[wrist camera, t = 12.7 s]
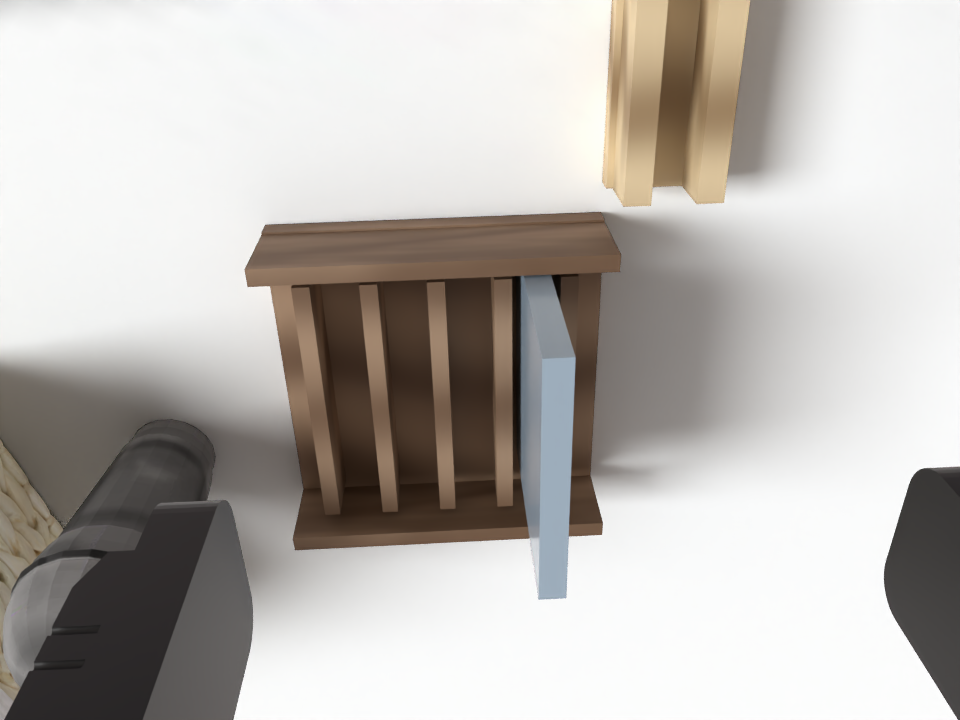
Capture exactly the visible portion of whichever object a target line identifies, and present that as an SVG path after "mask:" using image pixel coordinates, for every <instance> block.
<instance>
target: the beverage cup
mask: <svg viewBox="0 0 960 720" xmlns="http://www.w3.org/2000/svg"><path fill="white" fill-rule="evenodd" d="M214 461H215V453H214V449H213V446H212V444H211V443H210V441H209V440H208V438H207V437H206V436H205V435H204V434H203V433H202V432H201V431H199V430H198V429H197V428H195V427H193V426H191V425H189V424H187V423H185V422H180V421H175V420H157V421H154V422H152V423H149V424H146V425H145V426H143V427H142V428H141V429H139V430H138V431H137V432H136V434H135V436H134V437H133V438H132V439H131V441H130V442H129V443H128V444H127V445H126V446H124V448H123V449H122V450H121V452H120V453H119V455H118V456H117V457H116V459H115V460H114V461H113V463H112V464H111V465H110V467H109V468H108V470H107V471H106V472H105V474H104V475H103V476H102V478H101V479H100V480H99V482H98V483H97V485H96V486H95V487H94V489H93V490H92V491H91V493H90V494H89V495H88V497H87V498H86V500H85V501H84V502H83V504H82V505H81V506H80V508H79V509H78V511H77V512H76V513H75V515H74V516H73V517H72V519H71V520H70V521H69V523H68V524H67V526H66V527H65V528H64V530H63V531H62V532H61V534H60V535H59V536H58V538H57V539H56V540H54V541H53V542H52V543H50V544H49V545H48V546H47V547H46V548H45V549H44V550H43V551H42V552H41V553H40V555H39V556H38V557H37V558H36V559H35V560H34V561H33V563H32V564H31V565H30V566H28V567H27V568H26V569H24V570H23V571H22V572H21V573H20V575H19V577H18V579H17V581H16V582H15V584H14V586H13V588H12V591H11V596H10V602H9V604H8V606H7V608H6V612H5V616H4V621H3V653H4V659H5V661H6V663H7V666H8V668H9V670H10V672H11V674H12V677H13V679H14V681H15V682H16V683H17V684H18V686H19V687H20V688H21V686H22V684H23V682H24V680H25V678H26V676H27V674H28V672H29V671H33V669H34V661H35V659H36V657H37V655H38V653H39V651H40V649H41V647H42V645H43V643H44V641H45V639H46V637H47V636H51V634H52V626H53V624H54V622H55V620H56V618H57V616H58V614H59V612H60V610H61V608H62V606H63V604H64V602H65V601H66V599H67V597H68V595H69V593H70V591H71V589H72V587H73V586H74V585H75V584H76V583H77V582H78V581H79V580H80V579H81V578H82V577H83V576H84V575H85V574H86V573H87V572H88V571H89V570H90V569H92V568H93V567H94V566H95V565H96V564H97V563H98V562H99V561H100V560H101V559H102V558H103V557H104V556H105V555H106V554H107V553H108V552H109V551H128V550H135V548H136V546H137V544H138V542H139V539H140V537H141V535H142V533H143V530H144V528H145V526H146V524H147V522H148V519H149V517H150V515H151V513H152V511H153V509H154V508H155V507H156V506H157V505H158V504H160V503H173V502H194V501H207V498H208V494H209V490H210V486H211V480H212V469H213V467H214Z"/></svg>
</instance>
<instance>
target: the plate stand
mask: <svg viewBox="0 0 960 720" xmlns="http://www.w3.org/2000/svg"><path fill="white" fill-rule="evenodd" d="M749 6H750V0H612V11H611V30H610V49H609V67H608V86H607V105H606V124H605V142H604V161H603V180H602V182H603V184H604V185H605V187H606V189H607V188H613V190H614V191H615V193H616V195H617V196H618V198H619V200H620V202H621V203H622V205H623V207H628V206H651V199H652V187H661V186H682V187H683V188H684V189H685V190H686V192H687V193H688V194H689V195H690V197H691V198H692V199H693V200H694V201H695V203H696V204H707V203H724V197H725V190H726V182H727V174H728V167H729V159H730V151H731V144H732V136H733V128H734V121H735V113H736V105H737V98H738V90H739V83H740V75H741V67H742V60H743V52H744V44H745V37H746V29H747V21H748V14H749Z"/></svg>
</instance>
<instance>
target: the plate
mask: <svg viewBox="0 0 960 720" xmlns="http://www.w3.org/2000/svg"><path fill="white" fill-rule="evenodd" d="M575 360H576V357H575V354H574V350H573V347H572V344H571V340H570V337H569V334H568V330H567V327H566V324H565V320H564V317H563V313H562V310H561V307H560V303H559V300H558V297H557V293H556V290H555V287H554V283H553V280H552V277H551V275H528V276H516V427H517V455H518V462H519V469H520V476H521V483H522V489H523V496H524V503H525V510H526V517H527V524H528V531H529V538H530V544H531V551H532V558H533V565H534V572H535V579H536V586H537V593H538V599H539V600H540V599H558V598H566V591H567V565H568V539H569V514H570V488H571V462H572V437H573V411H574V385H575Z"/></svg>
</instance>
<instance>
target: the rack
mask: <svg viewBox="0 0 960 720" xmlns="http://www.w3.org/2000/svg"><path fill="white" fill-rule="evenodd" d="M620 263H621V254H620V252H619V250H618V248H617V246H616V244H615V242H614V240H613V238H612V236H611V234H610V232H609V230H608V228H607V226H606V224H605V222H604V218H603V216H602V214H601V212H592V213H566V214H540V215H514V216H488V217H461V218H435V219H409V220H383V221H357V222H331V223H305V224H278V225H265V227H264V229H263V231H262V235H261V237H260V239H259V241H258V243H257V245H256V247H255V250H254V252H253V254H252V256H251V258H250V260H249V262H248V264H247V266H246V268H245V275H246V280H247V286H248V287H257V286H270V288H271V294H272V300H273V306H274V312H275V318H276V324H277V330H278V336H279V342H280V348H281V355H282V361H283V367H284V373H285V379H286V385H287V391H288V397H289V403H290V409H291V415H292V421H293V427H294V433H295V440H296V446H297V452H298V458H299V464H300V470H301V476H302V482H303V488H304V490H303V494H302V499H301V504H300V508H299V513H298V517H297V522H296V527H295V531H294V536H293V541H294V547H295V550H308V549H328V548H348V547H368V546H388V545H408V544H428V543H448V542H468V541H488V540H508V539H528V538H529V531H528V524H527V517H526V510H525V503H524V496H523V489H522V483H521V476H520V469H519V462H518V455H517V427H516V276H528V275H551V277H552V280H553V283H554V287H555V290H556V293H557V297H558V300H559V303H560V307H561V310H562V313H563V317H564V320H565V324H566V327H567V330H568V334H569V337H570V340H571V344H572V347H573V350H574V354H575V357H576V360H575V385H574V411H573V437H572V462H571V488H570V514H569V536H588V535H602V527H603V522H602V518H601V514H600V511H599V507H598V503H597V499H596V495H595V492H594V488H593V484H592V480H591V476H590V470H591V452H592V434H593V416H594V398H595V381H596V363H597V345H598V327H599V309H600V291H601V273H603V272H620Z"/></svg>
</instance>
